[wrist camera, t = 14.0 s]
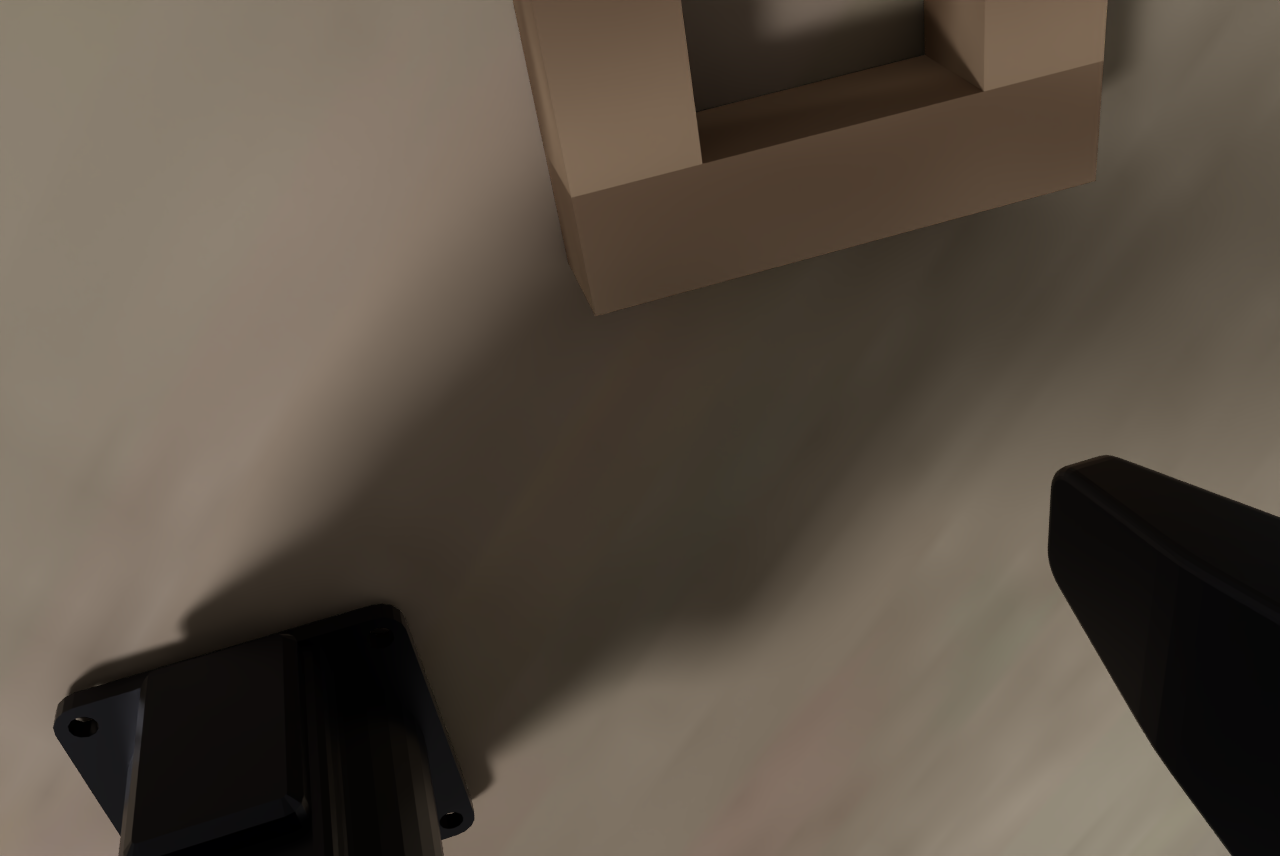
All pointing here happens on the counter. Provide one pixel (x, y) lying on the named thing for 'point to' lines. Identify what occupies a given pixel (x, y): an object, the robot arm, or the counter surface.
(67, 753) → the robot arm
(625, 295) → the brown flat piece
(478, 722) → the counter surface
